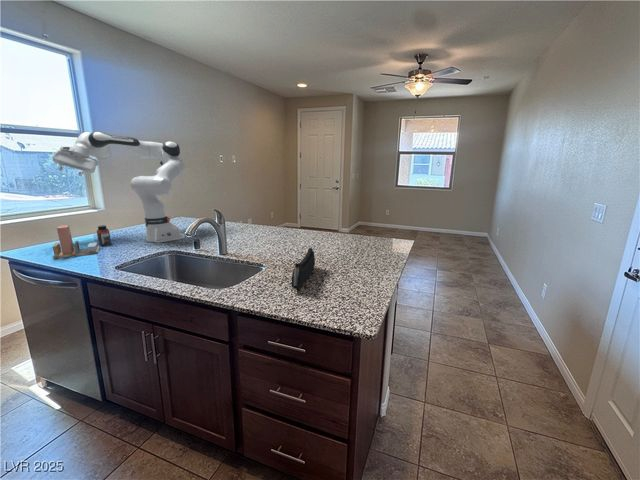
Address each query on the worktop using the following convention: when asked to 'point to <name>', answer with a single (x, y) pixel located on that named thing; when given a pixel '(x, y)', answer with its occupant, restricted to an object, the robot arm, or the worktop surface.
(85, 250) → the bookend
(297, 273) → the magazine
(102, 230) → the supplement bottle
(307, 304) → the worktop surface
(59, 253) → the shelf
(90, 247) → the flat bluegrey book
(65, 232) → the boxed book
